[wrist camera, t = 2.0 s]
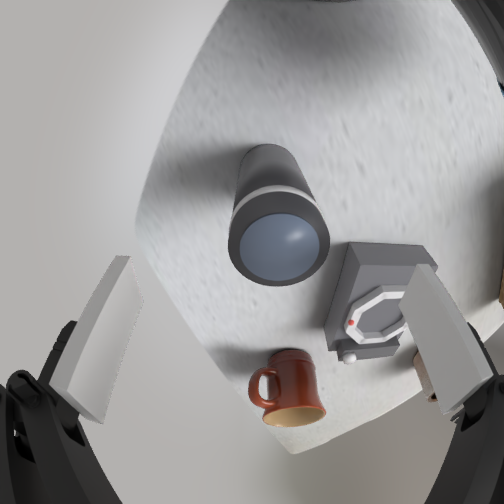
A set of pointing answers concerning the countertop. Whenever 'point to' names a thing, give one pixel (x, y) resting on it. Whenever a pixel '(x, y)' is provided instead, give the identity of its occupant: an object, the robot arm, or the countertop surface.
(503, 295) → the paper package
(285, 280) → the lens
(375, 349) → the camera body
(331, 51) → the countertop surface
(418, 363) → the planter
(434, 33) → the countertop surface
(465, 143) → the countertop surface
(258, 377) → the mug
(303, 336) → the countertop surface
